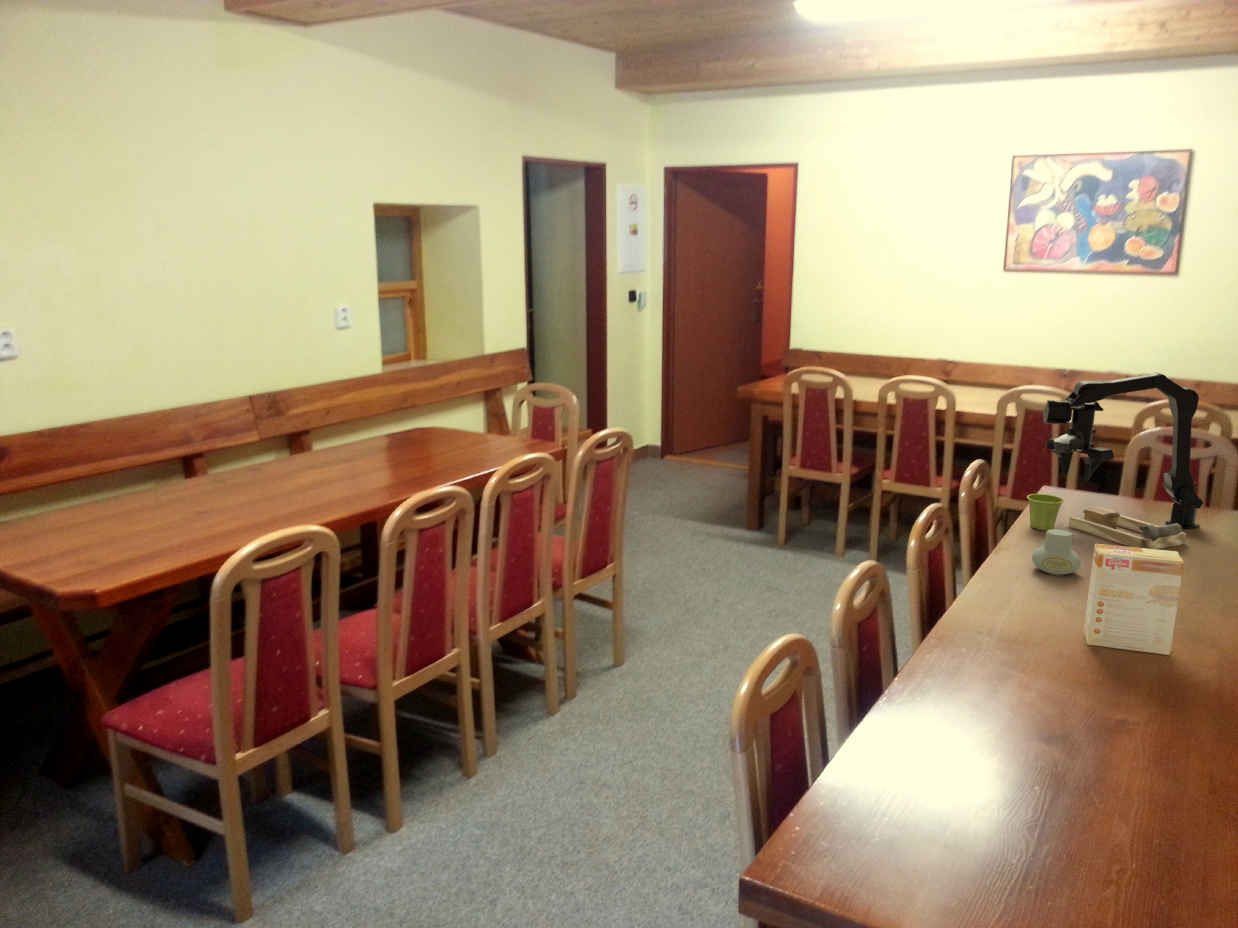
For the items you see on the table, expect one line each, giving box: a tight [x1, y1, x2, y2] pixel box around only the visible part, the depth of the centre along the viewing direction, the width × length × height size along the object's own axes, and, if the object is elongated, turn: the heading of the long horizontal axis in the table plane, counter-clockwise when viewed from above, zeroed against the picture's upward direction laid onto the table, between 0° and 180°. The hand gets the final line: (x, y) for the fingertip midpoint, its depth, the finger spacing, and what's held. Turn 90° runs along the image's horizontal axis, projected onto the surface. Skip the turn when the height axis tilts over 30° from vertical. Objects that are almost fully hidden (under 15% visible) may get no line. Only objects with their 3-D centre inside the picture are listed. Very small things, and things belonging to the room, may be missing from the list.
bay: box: [1067, 514, 1187, 550], centre depth 263 cm, size 16×25×7 cm, turn 25°
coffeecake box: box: [1083, 543, 1185, 656], centre depth 190 cm, size 15×7×20 cm, turn 71°
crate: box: [1082, 506, 1121, 530], centre depth 271 cm, size 6×7×5 cm
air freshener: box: [1031, 528, 1082, 576], centre depth 233 cm, size 11×8×10 cm
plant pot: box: [1026, 493, 1065, 532], centre depth 269 cm, size 9×9×9 cm
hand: (1075, 478), depth 277 cm, fingers open, 7 cm apart
